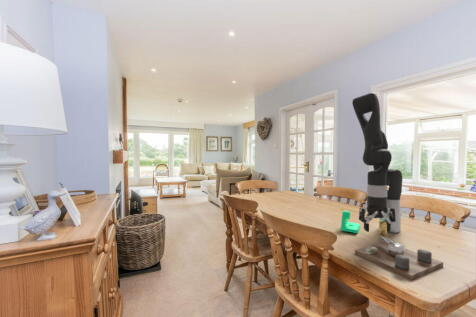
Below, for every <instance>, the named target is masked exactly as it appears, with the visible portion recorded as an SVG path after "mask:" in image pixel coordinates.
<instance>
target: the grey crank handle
mask: <svg viewBox="0 0 476 317" xmlns="http://www.w3.org/2000/svg"><path fill="white" fill-rule="evenodd" d="M378 236H380V238H381V239H383V241H386V242H388V243H389V248H388V254H389V255H391V256H393V257H395V255H403V256H404V248H405V245H403V244H401V243H399V242H396V241H395V242H394V241H393V240H392V239H391V238H389V237H388V232H387V222H386V221H378Z"/></svg>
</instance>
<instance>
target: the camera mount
mask: <svg viewBox="0 0 476 317" xmlns="http://www.w3.org/2000/svg"><path fill="white" fill-rule="evenodd" d="M350 219H351V211H349V210H342V215H341V225H340V231H343V232H348V233H349V232H350V233H354V234H358V233H359V231H360V228H361V224H360V223H357V222H350V221H349V220H350Z"/></svg>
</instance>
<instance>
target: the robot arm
mask: <svg viewBox="0 0 476 317" xmlns="http://www.w3.org/2000/svg"><path fill="white" fill-rule="evenodd" d="M352 107H353V110H354V113H355V115H356V116H355V117H356V118H357V120H358V122H359V126H360V128H361V130H362V135H363V139H364V151H363V155H362V162H363V163H364V165H366V166H372V168H373V170H371V171H368V172H367V185H366V205H367V206H366V207H365V208H364V207H361V206H360V207H359V210H358V212H359V213H358V220H359V221H360V222H361V223H363V229H364V231H366V232H367V233H369V232H370V222H371V221H372V220H374V219H379V221H386V222H387V233H393V234H394V233H395V234H396V233H400V232H401V229H402V228H401V227H402V226H401V224H402V223H401V222H402V221H401V220H402V219H401V218H402V217H401V195H402V190H403V173H402V171H401V170H400V169H397V168H390V164H391V161H392V153H391V151H390V150H388V149H389V143H388V140H387V136H386V134H385V132H384V131H383V130H382V129H381V108H380V107H381V106H380V102H379V97H378V95H377V93H375V92H368V93H366V94H363V95H361V96H358V97H355V98H353V99H352ZM369 113H371V114H370V117H369V119H368V118H367V117H366V116H365V114H369ZM379 221H378V222H379Z"/></svg>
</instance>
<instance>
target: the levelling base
mask: <svg viewBox="0 0 476 317" xmlns="http://www.w3.org/2000/svg"><path fill="white" fill-rule="evenodd" d="M388 248H389V243H388V242H386V241H385V240H383V241H381V242H378V243H373V244H371V245H368V246H364V247H359V248H356V249H354V254H355V255H357V256H359V257H362V258H364V259H366V260H368V261H370V262H372V263H375V264H376V265H379V266H381V267H383V268H385V269H388V270H390V271H391V272H393V273H396V274H398V275H400V276H402V277H404V278H406V279H409V280H411V281H414V280H415V279H418V278H419V277H422V276H424V275H427V274H428V273H432V272H433V271H435V270H438V269H440V268H442V267H444V262H443V261H441V260H438V259H436V258H432V255H433V254H432V252H431V251H429V250H426V249H421V248H419V249H417V252H415V251H413V250H410V249H407V248H406V247H404V256H403V255H395V257H393V256H391V255H389V254H388Z"/></svg>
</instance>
